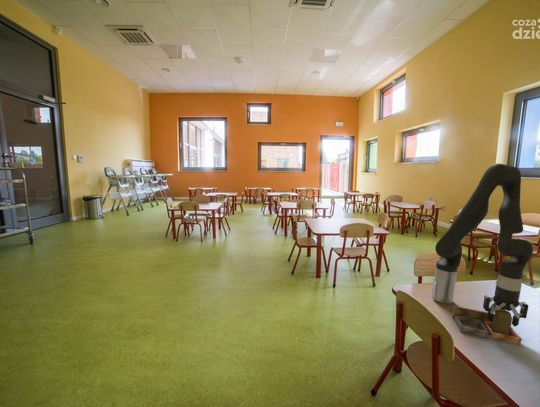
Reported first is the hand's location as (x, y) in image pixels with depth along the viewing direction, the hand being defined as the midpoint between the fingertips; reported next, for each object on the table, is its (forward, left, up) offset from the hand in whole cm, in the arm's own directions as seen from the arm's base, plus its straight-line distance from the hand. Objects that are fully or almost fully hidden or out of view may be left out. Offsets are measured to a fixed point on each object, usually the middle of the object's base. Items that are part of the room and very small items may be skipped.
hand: (502, 322), depth 110 cm
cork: (0, 0, -6) cm, 6 cm away
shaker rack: (-5, 0, -5) cm, 7 cm away
